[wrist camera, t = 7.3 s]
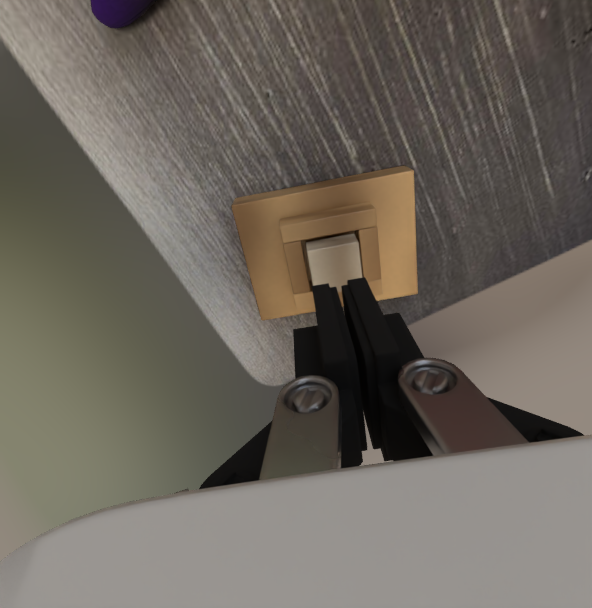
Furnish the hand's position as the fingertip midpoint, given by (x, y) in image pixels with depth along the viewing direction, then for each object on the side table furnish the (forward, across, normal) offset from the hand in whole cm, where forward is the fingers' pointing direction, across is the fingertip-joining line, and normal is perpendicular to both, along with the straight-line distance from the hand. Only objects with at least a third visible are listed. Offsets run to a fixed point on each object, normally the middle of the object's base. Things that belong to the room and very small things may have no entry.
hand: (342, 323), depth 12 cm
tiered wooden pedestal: (+17, -1, +3) cm, 17 cm away
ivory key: (+13, -1, +3) cm, 14 cm away
